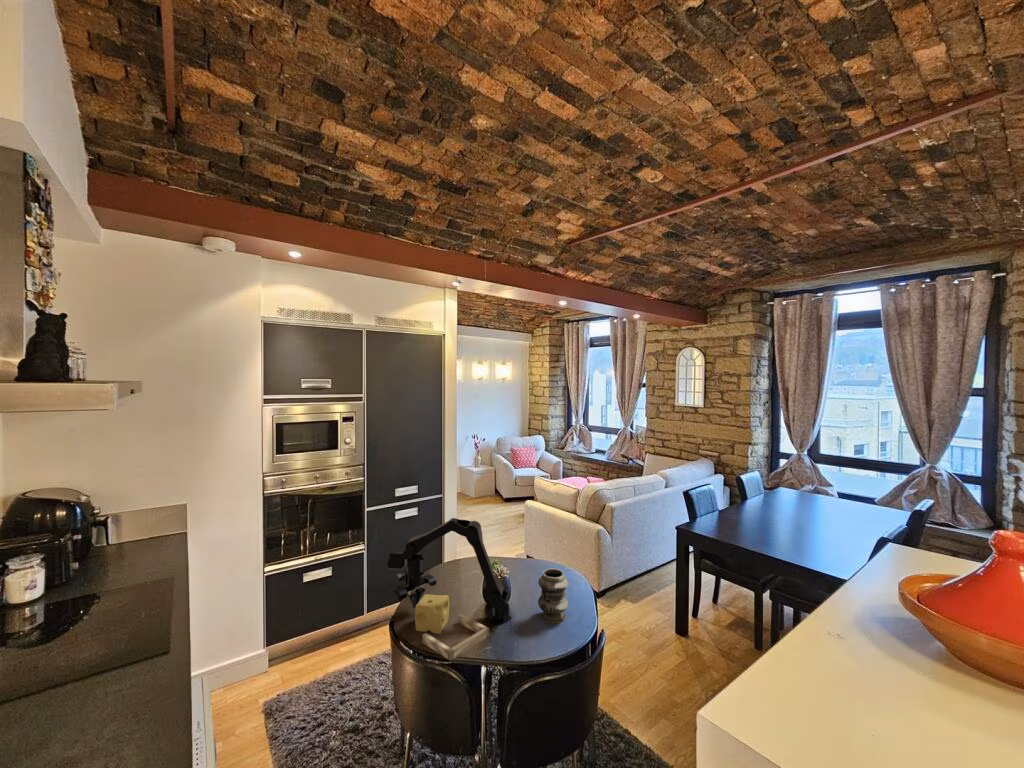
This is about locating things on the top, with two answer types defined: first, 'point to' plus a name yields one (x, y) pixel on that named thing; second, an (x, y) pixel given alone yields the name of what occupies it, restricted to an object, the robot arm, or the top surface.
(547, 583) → the apothecary jar
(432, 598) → the cheese
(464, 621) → the square wooden tray
